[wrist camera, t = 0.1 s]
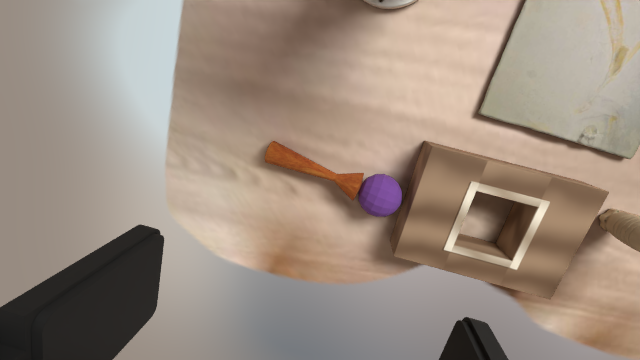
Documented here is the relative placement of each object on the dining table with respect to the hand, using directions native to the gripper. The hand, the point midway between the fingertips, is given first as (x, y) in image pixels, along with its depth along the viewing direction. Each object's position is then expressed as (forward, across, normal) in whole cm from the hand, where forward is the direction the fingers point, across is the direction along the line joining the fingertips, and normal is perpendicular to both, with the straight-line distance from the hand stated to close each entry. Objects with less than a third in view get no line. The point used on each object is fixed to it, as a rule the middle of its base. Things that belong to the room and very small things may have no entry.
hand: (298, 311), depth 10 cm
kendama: (+37, 0, +5) cm, 38 cm away
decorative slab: (+38, -27, -21) cm, 51 cm away
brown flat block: (+37, -22, +5) cm, 43 cm away
